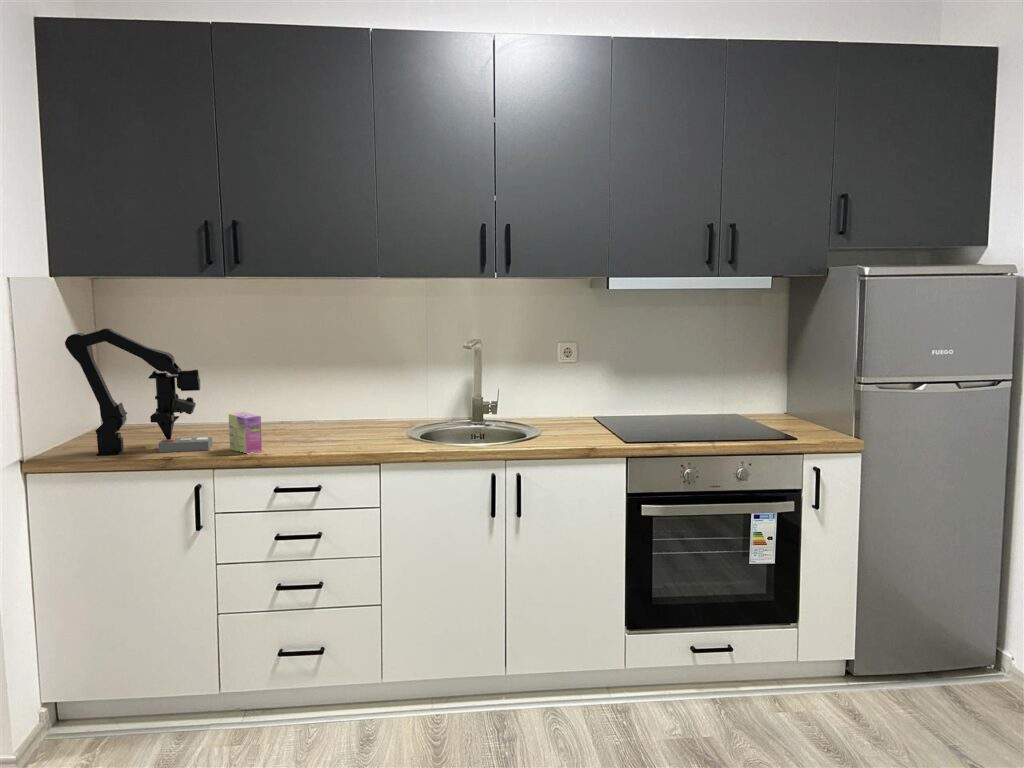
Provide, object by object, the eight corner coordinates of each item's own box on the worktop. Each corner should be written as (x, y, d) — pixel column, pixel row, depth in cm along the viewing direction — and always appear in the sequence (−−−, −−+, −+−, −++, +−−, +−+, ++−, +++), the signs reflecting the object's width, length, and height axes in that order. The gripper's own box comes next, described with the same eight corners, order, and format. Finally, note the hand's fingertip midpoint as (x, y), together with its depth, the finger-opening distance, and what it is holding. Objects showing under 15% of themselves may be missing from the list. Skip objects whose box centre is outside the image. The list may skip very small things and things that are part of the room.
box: (262, 451, 252) (261, 415, 250) (246, 454, 248) (244, 417, 246) (245, 446, 259) (244, 411, 257) (229, 449, 255) (227, 413, 253)
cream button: (196, 445, 255) (195, 439, 254) (197, 443, 258) (197, 437, 258) (206, 445, 255) (206, 439, 255) (208, 443, 258) (207, 437, 258)
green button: (179, 446, 254) (179, 440, 253) (181, 444, 257) (181, 438, 257) (190, 445, 254) (189, 439, 254) (192, 443, 257) (191, 437, 257)
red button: (163, 446, 253) (162, 440, 252) (165, 444, 256) (165, 438, 256) (173, 446, 253) (173, 440, 253) (175, 444, 256) (175, 438, 256)
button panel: (158, 452, 251) (158, 443, 250) (164, 447, 258) (163, 438, 257) (208, 450, 254) (207, 441, 253) (212, 445, 261) (211, 436, 260)
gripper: (186, 395, 245) (189, 444, 247) (198, 387, 263) (200, 432, 265) (148, 396, 242) (151, 445, 245) (162, 388, 261) (165, 434, 263)
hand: (169, 439), depth 254 cm, fingers closed, pressing on red button
